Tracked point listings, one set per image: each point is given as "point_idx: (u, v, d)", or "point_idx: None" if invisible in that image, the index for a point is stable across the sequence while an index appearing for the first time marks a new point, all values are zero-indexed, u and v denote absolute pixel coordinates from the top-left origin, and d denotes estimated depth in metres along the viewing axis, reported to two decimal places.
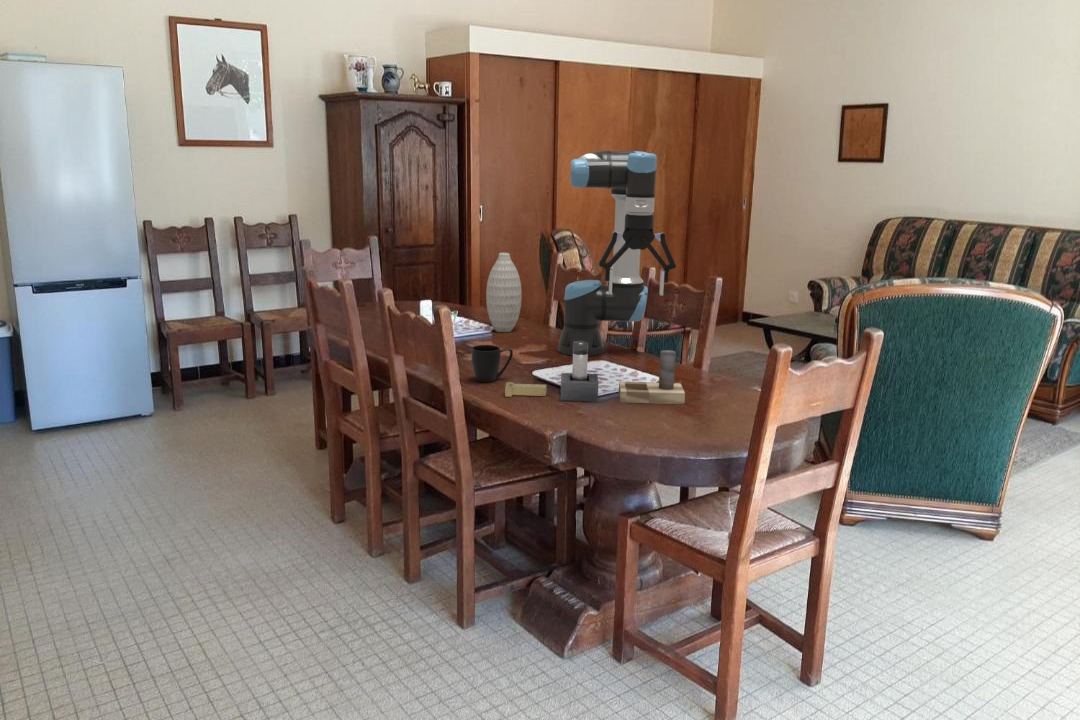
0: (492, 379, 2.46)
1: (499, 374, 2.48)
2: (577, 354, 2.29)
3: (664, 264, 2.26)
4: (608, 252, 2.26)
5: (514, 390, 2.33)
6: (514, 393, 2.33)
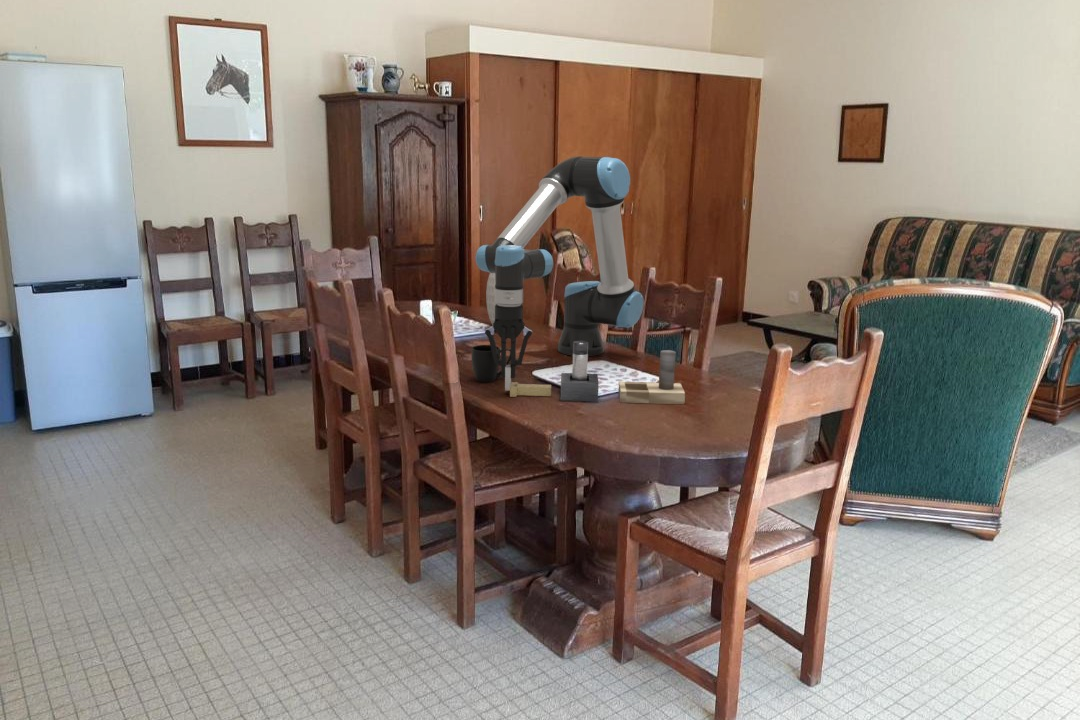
0: (492, 379, 2.46)
1: (499, 374, 2.48)
2: (577, 354, 2.29)
3: (513, 360, 2.31)
4: (494, 349, 2.30)
5: (519, 390, 2.33)
6: (519, 393, 2.33)
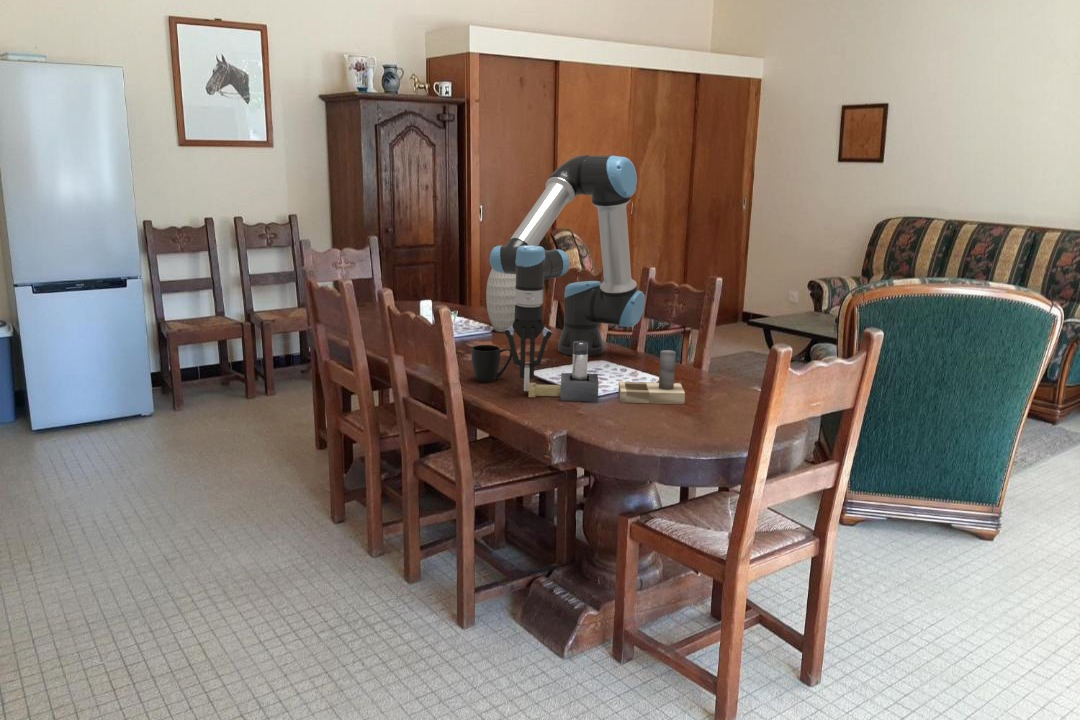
0: (492, 379, 2.46)
1: (499, 374, 2.48)
2: (577, 354, 2.29)
3: (532, 361, 2.31)
4: (513, 349, 2.30)
5: (537, 391, 2.33)
6: (537, 394, 2.33)
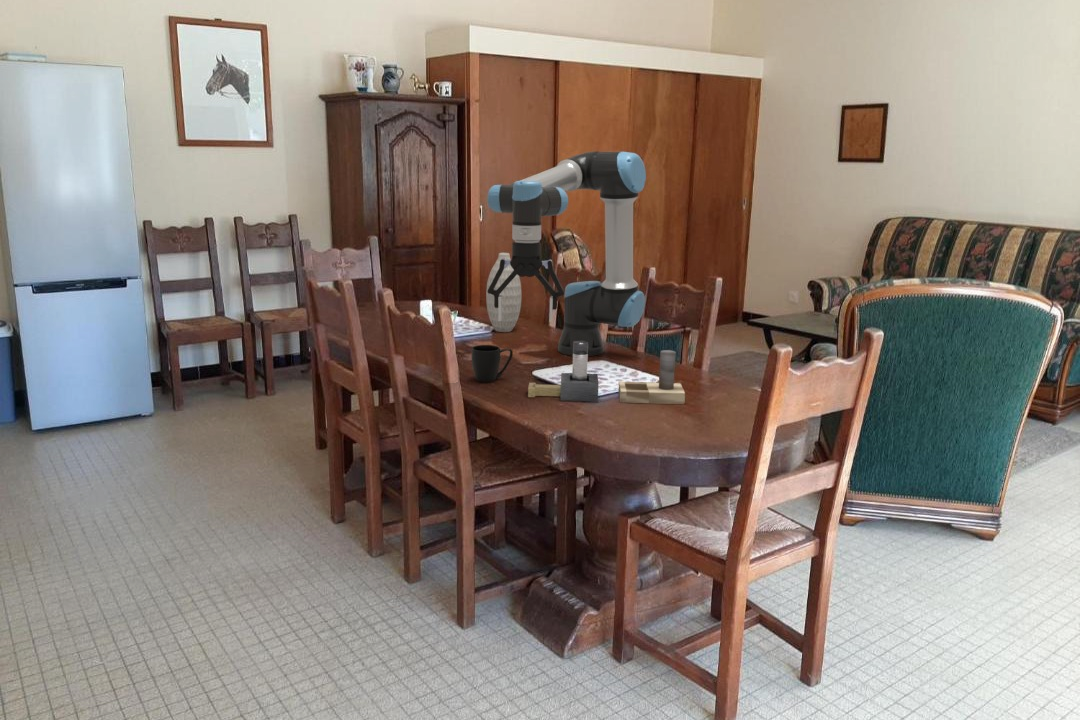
0: (492, 379, 2.46)
1: (499, 374, 2.48)
2: (577, 354, 2.29)
3: (552, 291, 2.26)
4: (496, 279, 2.26)
5: (537, 391, 2.33)
6: (537, 394, 2.33)
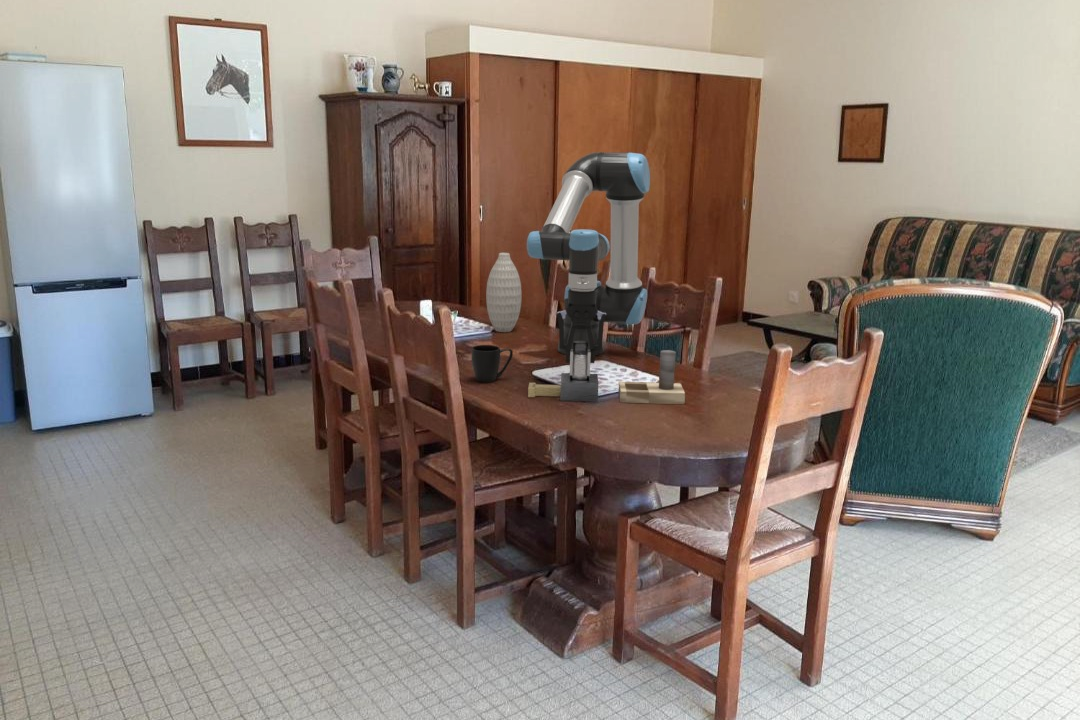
0: (492, 379, 2.46)
1: (499, 374, 2.48)
2: (577, 354, 2.29)
3: (592, 345, 2.29)
4: (562, 333, 2.29)
5: (537, 391, 2.33)
6: (537, 394, 2.33)
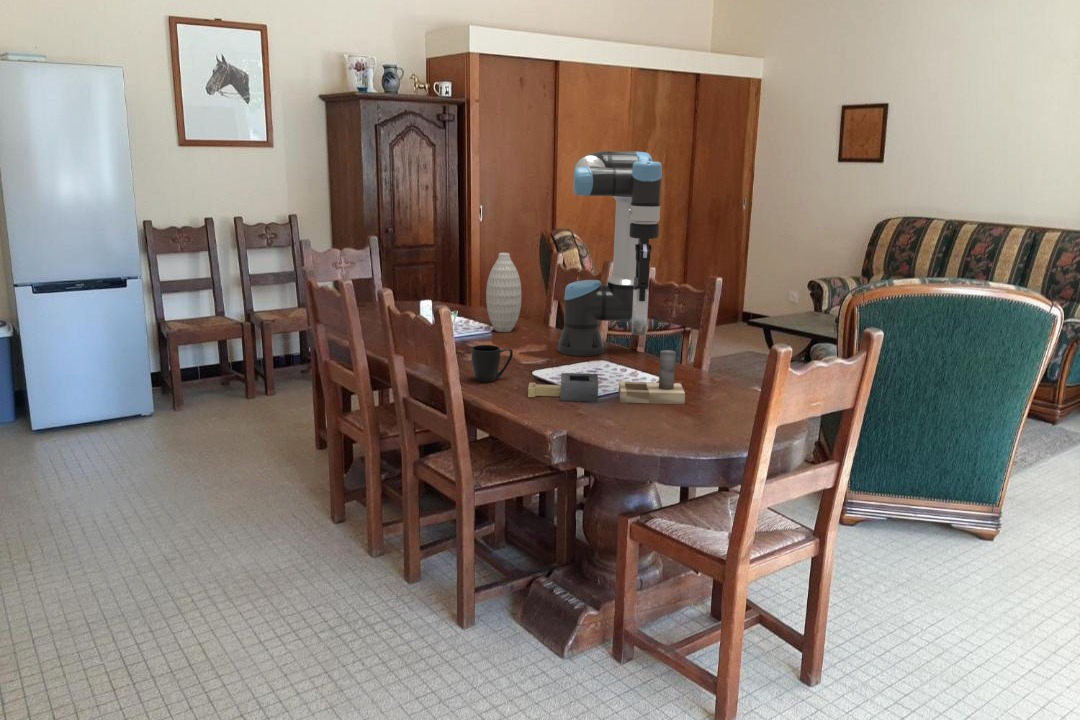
0: (492, 379, 2.46)
1: (499, 374, 2.48)
2: None
3: (638, 281, 2.22)
4: (636, 265, 2.30)
5: (537, 391, 2.33)
6: (537, 394, 2.33)
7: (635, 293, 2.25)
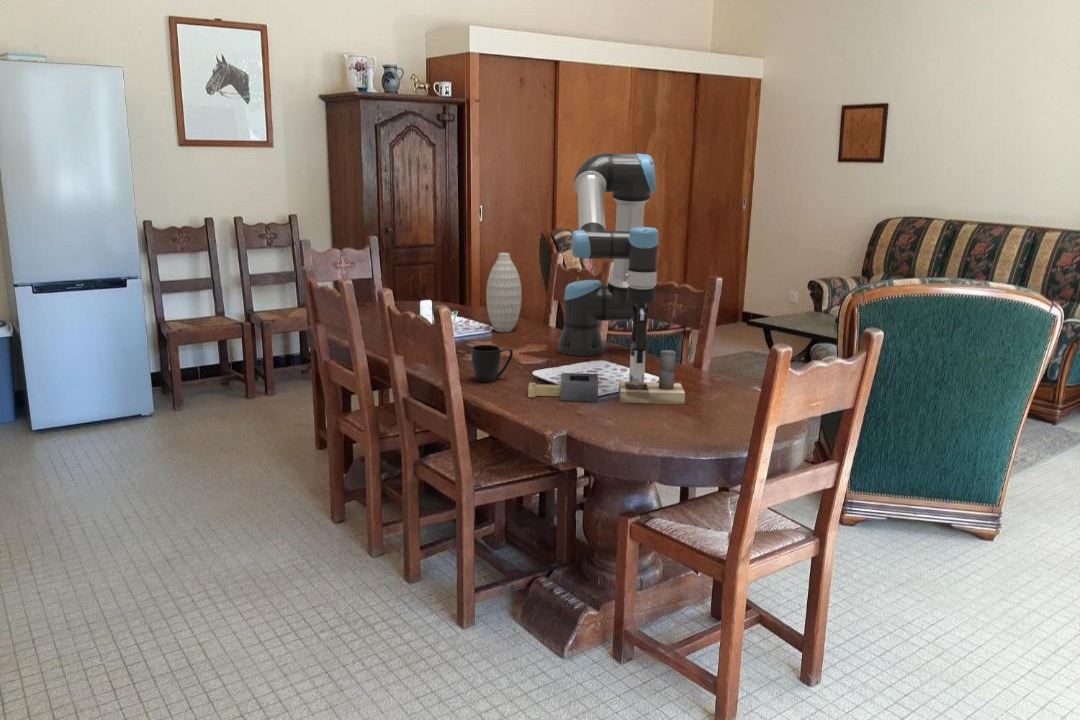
0: (492, 379, 2.46)
1: (499, 374, 2.48)
2: None
3: (635, 343, 2.25)
4: (633, 323, 2.35)
5: (537, 391, 2.33)
6: (537, 394, 2.33)
7: (632, 359, 2.30)
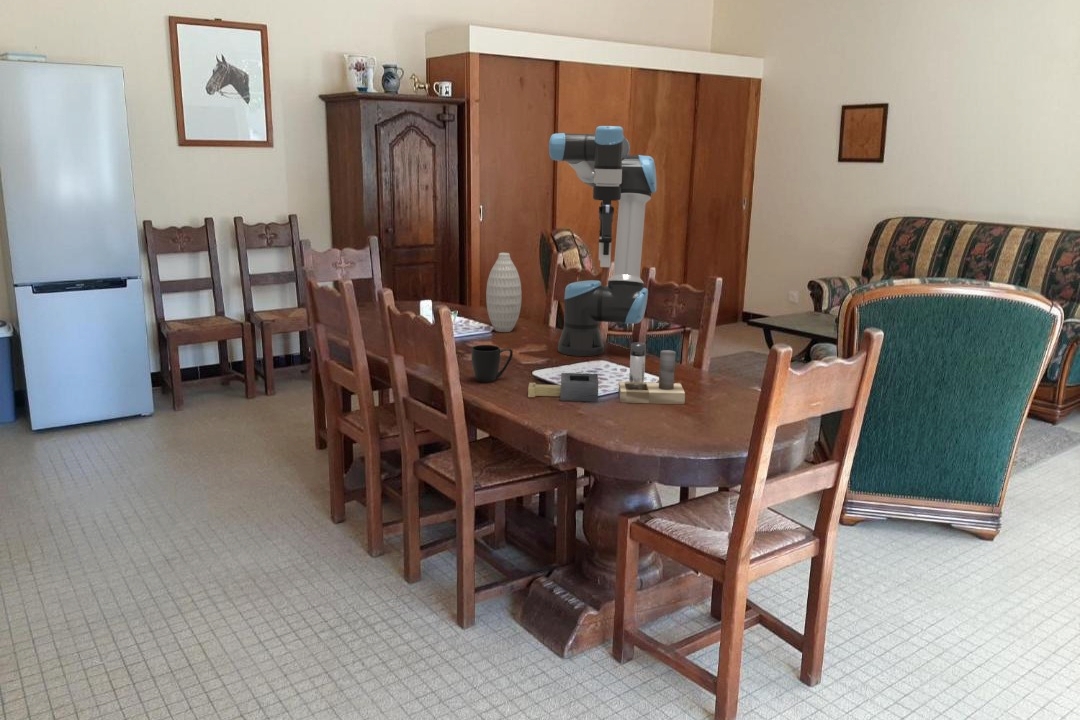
0: (492, 379, 2.46)
1: (499, 374, 2.48)
2: None
3: None
4: None
5: (537, 391, 2.33)
6: (537, 394, 2.33)
7: (632, 359, 2.30)
